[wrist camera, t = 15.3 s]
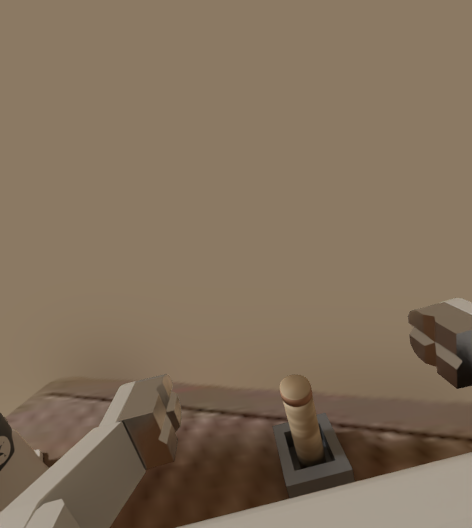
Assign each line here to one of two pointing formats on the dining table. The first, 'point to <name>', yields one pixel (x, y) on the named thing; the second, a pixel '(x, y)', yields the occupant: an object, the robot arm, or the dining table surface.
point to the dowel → (302, 420)
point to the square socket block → (316, 476)
